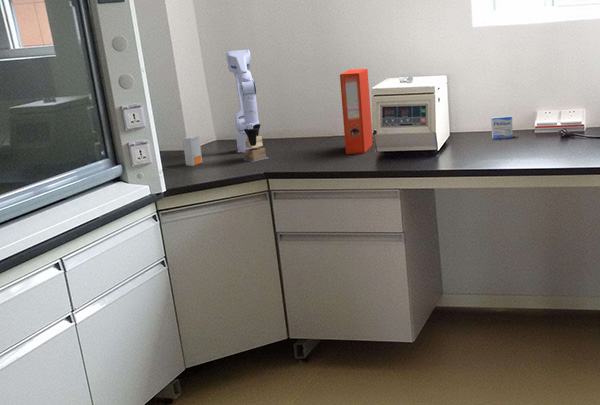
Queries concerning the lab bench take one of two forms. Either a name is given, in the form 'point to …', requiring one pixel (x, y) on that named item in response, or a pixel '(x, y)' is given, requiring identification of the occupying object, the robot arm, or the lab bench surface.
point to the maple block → (258, 142)
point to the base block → (255, 153)
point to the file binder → (356, 111)
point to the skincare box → (192, 150)
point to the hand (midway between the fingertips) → (254, 144)
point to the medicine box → (502, 127)
